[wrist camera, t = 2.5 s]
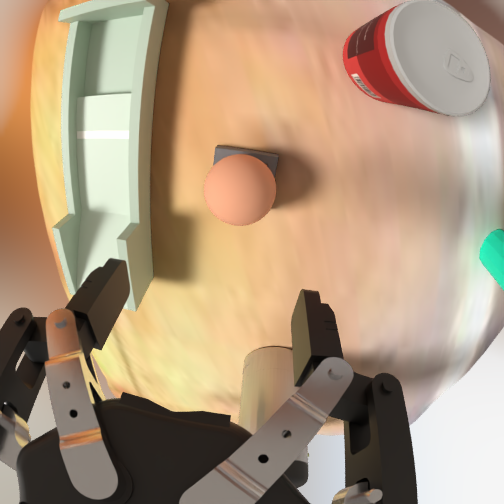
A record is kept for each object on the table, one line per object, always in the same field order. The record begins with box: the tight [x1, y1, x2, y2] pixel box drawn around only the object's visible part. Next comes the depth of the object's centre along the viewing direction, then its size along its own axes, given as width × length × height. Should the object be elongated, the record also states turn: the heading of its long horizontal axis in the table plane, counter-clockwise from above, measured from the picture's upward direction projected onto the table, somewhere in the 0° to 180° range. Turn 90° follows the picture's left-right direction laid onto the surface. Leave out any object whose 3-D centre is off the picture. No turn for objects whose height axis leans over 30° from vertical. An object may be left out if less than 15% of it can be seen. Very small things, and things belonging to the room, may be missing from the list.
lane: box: [52, 0, 169, 311], centre depth 22 cm, size 9×32×6 cm, turn 171°
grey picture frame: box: [213, 145, 279, 214], centre depth 25 cm, size 6×6×1 cm
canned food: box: [343, 0, 490, 116], centre depth 14 cm, size 8×8×11 cm
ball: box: [204, 154, 276, 226], centre depth 23 cm, size 6×6×6 cm
